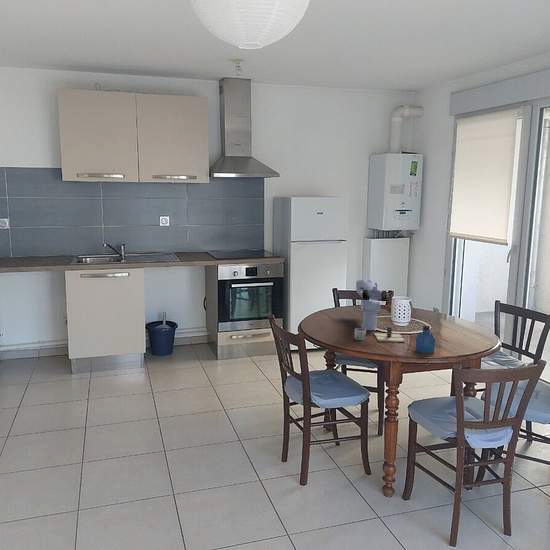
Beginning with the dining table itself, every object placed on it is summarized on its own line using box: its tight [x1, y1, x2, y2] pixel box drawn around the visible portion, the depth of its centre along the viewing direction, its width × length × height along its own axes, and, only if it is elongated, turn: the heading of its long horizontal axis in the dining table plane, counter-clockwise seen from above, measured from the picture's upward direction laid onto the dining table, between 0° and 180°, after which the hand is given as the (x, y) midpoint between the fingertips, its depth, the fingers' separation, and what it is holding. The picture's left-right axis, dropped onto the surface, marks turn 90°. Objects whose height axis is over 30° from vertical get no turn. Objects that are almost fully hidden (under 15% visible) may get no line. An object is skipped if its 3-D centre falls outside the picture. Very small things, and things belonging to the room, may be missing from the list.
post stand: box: [373, 326, 406, 343], centre depth 270 cm, size 13×13×6 cm
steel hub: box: [353, 327, 367, 341], centre depth 269 cm, size 6×6×5 cm
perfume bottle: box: [415, 325, 436, 354], centre depth 250 cm, size 6×6×12 cm
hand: (376, 298), depth 266 cm, fingers open, 7 cm apart
